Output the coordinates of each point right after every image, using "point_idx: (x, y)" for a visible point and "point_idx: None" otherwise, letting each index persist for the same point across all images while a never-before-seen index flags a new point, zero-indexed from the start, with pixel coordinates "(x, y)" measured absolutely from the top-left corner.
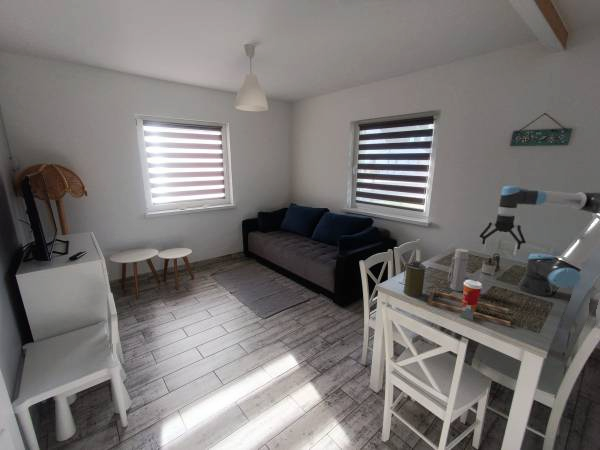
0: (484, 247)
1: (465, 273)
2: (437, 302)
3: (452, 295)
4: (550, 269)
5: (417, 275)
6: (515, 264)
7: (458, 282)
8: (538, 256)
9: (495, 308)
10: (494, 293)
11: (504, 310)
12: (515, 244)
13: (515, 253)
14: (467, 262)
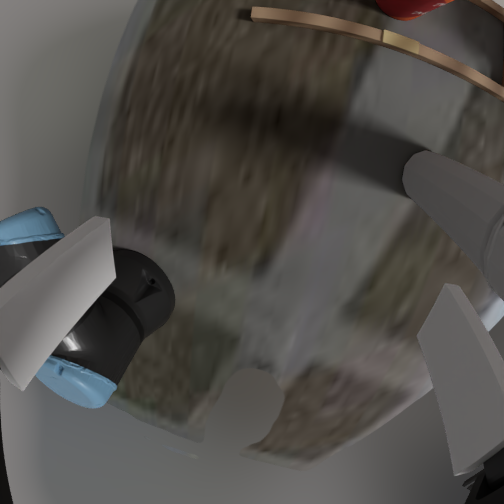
0: (474, 313)
1: (446, 185)
2: (494, 6)
3: (459, 70)
4: (27, 263)
5: None
6: (179, 426)
7: (448, 159)
8: (63, 369)
9: (300, 13)
10: (271, 196)
11: (267, 8)
12: (39, 366)
13: (83, 228)
14: (483, 214)
